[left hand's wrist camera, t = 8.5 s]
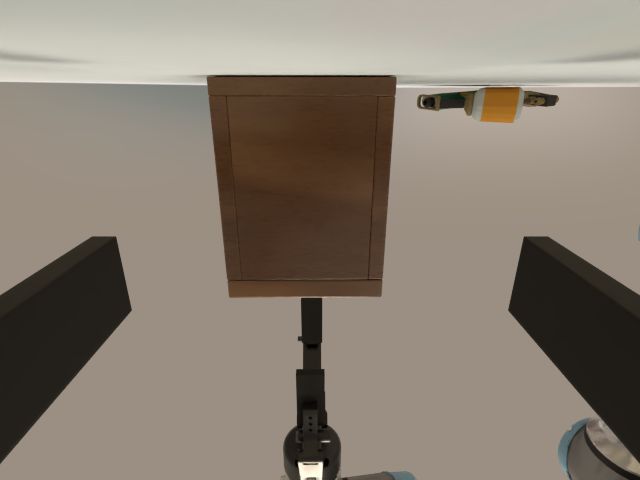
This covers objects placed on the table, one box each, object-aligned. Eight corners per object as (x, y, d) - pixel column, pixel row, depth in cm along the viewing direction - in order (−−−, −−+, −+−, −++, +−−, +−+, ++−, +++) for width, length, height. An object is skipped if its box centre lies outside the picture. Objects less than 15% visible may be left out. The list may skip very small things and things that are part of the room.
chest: (358, 83, 35) (354, 199, 39) (257, 83, 35) (264, 199, 39) (397, 76, 18) (382, 279, 22) (206, 76, 18) (227, 280, 22)
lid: (353, 197, 40) (351, 266, 43) (265, 197, 40) (269, 267, 43) (382, 280, 22) (375, 387, 25) (227, 280, 22) (238, 388, 25)
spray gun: (567, 82, 53) (463, 80, 62) (530, 90, 42) (411, 86, 51) (559, 113, 55) (460, 107, 64) (522, 129, 44) (408, 118, 53)
